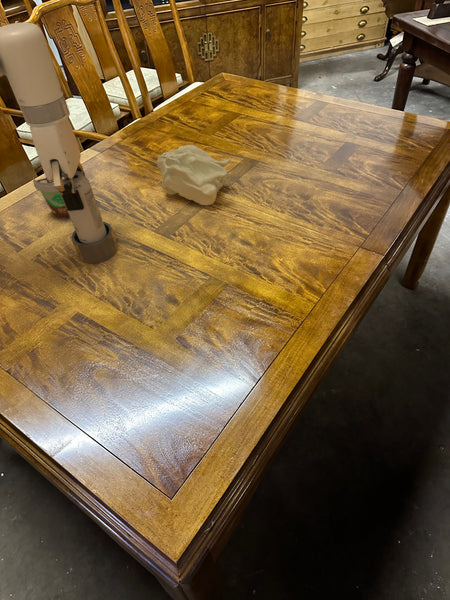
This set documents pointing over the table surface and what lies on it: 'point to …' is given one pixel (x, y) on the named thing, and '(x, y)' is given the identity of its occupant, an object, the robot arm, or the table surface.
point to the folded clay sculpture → (192, 174)
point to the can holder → (96, 247)
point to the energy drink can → (86, 212)
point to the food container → (52, 196)
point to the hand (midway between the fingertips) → (79, 199)
